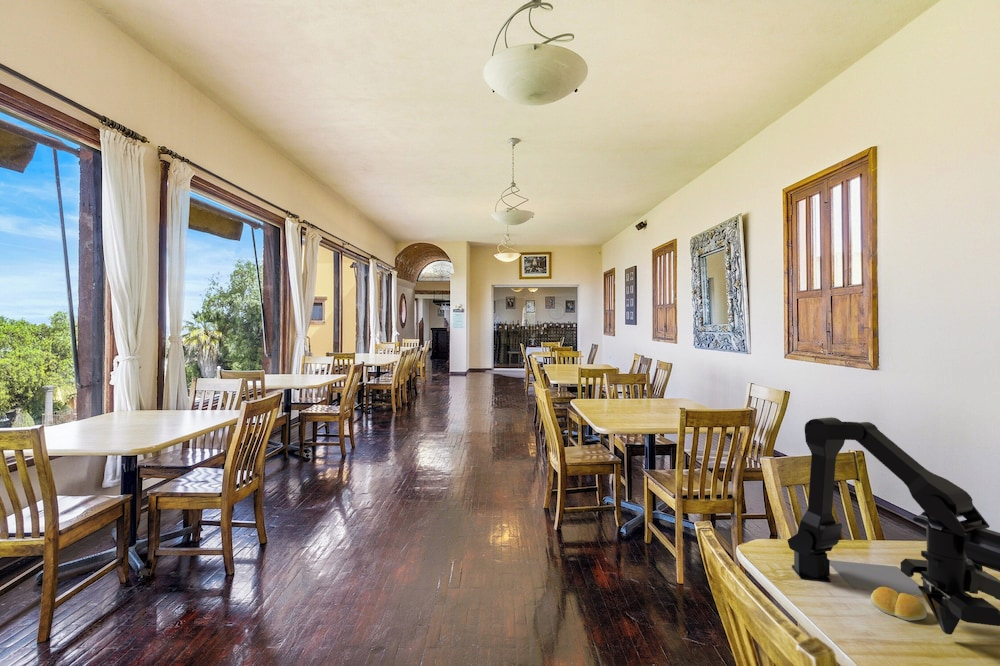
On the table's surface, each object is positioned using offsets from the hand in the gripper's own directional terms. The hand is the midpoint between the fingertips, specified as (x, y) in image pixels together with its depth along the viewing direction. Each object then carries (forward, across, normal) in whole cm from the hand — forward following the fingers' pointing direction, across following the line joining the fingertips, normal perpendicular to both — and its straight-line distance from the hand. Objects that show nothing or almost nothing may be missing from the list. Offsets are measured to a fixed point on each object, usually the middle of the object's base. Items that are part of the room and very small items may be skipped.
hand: (947, 633), depth 90 cm
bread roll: (+2, +10, 0) cm, 10 cm away
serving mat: (+2, +25, 0) cm, 25 cm away
